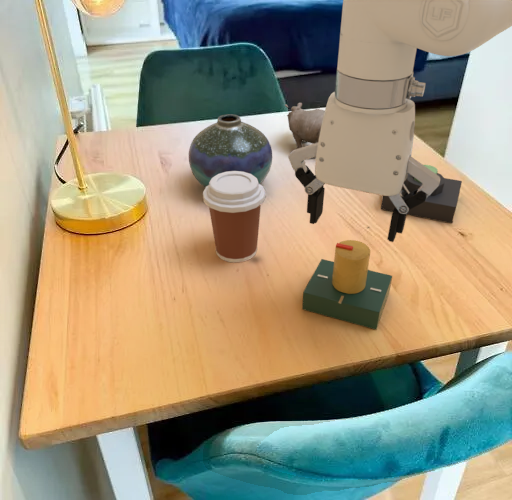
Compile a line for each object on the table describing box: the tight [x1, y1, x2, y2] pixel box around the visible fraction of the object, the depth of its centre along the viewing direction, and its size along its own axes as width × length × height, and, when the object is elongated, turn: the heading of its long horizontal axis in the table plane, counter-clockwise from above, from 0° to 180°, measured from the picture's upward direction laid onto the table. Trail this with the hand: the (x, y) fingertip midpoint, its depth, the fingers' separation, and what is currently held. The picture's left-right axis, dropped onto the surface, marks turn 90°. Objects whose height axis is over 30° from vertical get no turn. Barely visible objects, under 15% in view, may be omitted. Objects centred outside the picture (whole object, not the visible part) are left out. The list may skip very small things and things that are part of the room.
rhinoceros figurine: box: [284, 102, 325, 159], centre depth 107 cm, size 8×14×15 cm
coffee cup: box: [202, 171, 267, 264], centre depth 76 cm, size 9×9×12 cm
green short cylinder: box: [414, 164, 439, 183], centre depth 87 cm, size 4×4×2 cm
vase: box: [188, 113, 273, 189], centre depth 93 cm, size 15×15×13 cm
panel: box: [301, 258, 393, 331], centre depth 68 cm, size 10×9×3 cm
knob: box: [332, 239, 371, 294], centre depth 66 cm, size 4×4×6 cm
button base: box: [380, 172, 463, 224], centre depth 89 cm, size 12×10×5 cm
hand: (353, 226), depth 62 cm, fingers open, 9 cm apart
